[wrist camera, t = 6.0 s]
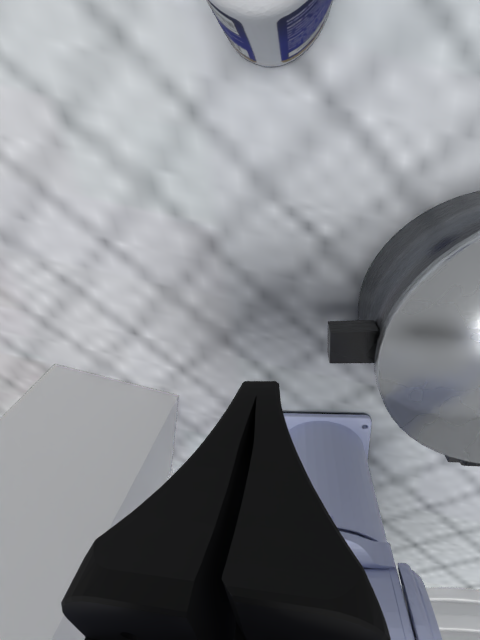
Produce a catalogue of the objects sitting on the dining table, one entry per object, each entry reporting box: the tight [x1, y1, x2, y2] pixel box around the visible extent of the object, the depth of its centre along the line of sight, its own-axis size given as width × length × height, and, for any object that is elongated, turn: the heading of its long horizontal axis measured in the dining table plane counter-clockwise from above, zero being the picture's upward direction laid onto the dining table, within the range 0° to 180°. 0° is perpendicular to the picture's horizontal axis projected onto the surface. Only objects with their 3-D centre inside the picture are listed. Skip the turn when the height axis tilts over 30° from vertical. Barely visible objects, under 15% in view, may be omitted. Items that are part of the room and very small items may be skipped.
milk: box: [0, 364, 179, 640], centre depth 19 cm, size 12×12×26 cm
